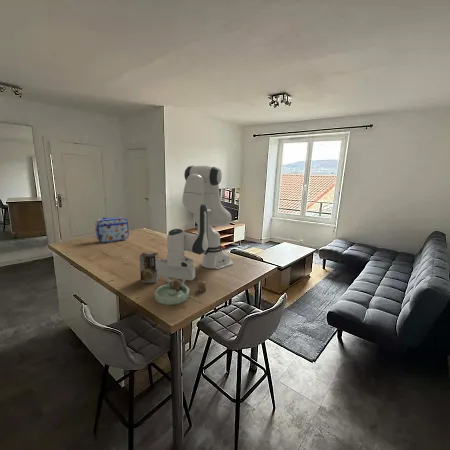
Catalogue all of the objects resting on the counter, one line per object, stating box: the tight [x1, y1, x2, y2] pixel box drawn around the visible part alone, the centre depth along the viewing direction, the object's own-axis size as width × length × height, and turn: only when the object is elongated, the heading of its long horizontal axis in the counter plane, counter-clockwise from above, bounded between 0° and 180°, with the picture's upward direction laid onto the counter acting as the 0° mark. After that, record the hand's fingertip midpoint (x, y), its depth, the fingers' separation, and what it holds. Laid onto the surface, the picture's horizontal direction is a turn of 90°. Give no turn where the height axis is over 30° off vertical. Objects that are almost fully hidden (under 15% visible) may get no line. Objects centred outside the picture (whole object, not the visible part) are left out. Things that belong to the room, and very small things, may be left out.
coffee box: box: [139, 252, 160, 284], centre depth 140 cm, size 9×6×16 cm
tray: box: [154, 283, 191, 306], centre depth 124 cm, size 17×17×3 cm
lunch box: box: [94, 216, 130, 244], centre depth 216 cm, size 28×10×22 cm, turn 130°
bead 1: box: [171, 279, 181, 292], centre depth 128 cm, size 4×4×5 cm
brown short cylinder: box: [197, 280, 207, 293], centre depth 131 cm, size 4×4×5 cm
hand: (176, 285), depth 128 cm, fingers open, 5 cm apart
